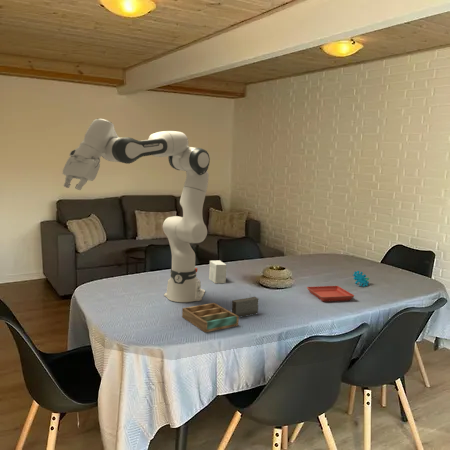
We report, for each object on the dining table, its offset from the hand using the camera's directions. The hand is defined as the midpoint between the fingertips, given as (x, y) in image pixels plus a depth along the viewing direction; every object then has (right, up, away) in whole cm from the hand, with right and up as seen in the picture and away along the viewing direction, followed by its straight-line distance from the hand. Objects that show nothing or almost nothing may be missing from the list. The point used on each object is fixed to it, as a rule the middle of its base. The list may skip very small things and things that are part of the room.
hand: (71, 188), depth 176 cm
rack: (+52, -54, +18) cm, 77 cm away
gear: (+134, -48, +83) cm, 165 cm away
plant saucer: (+111, -51, +60) cm, 136 cm away
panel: (+67, -53, +28) cm, 90 cm away
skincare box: (+54, -45, +80) cm, 106 cm away
